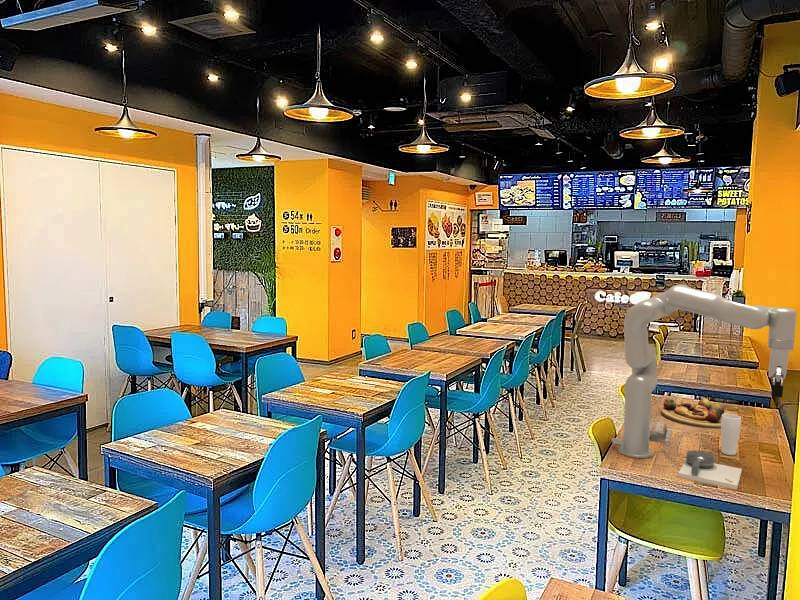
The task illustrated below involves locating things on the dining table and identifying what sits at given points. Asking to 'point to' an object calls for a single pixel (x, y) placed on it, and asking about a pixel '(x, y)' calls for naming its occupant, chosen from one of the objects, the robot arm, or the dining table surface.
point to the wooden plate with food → (694, 413)
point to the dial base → (713, 475)
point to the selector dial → (699, 461)
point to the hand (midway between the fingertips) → (776, 393)
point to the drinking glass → (730, 433)
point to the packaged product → (659, 432)
